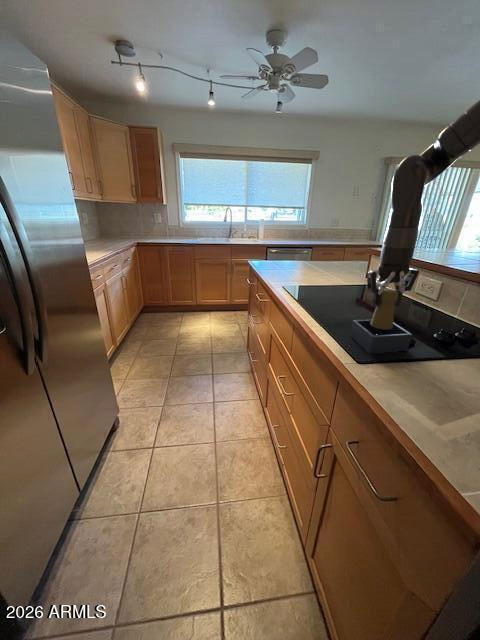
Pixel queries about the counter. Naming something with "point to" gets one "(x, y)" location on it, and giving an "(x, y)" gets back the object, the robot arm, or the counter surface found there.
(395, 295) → the cork
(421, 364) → the counter surface
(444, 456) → the counter surface
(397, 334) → the bin
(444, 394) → the counter surface
